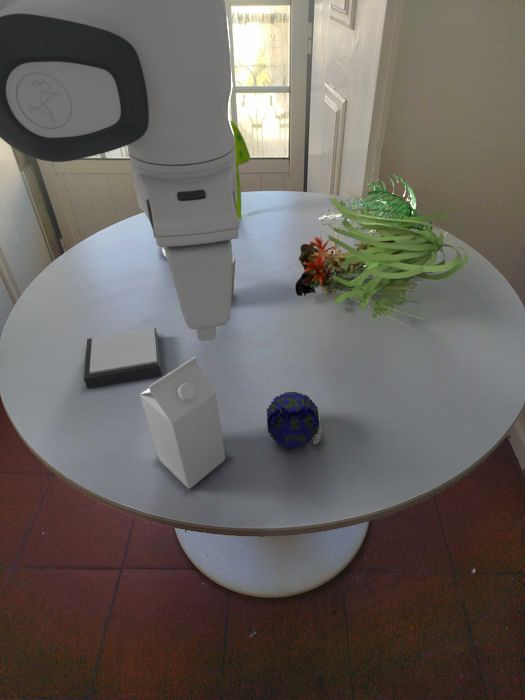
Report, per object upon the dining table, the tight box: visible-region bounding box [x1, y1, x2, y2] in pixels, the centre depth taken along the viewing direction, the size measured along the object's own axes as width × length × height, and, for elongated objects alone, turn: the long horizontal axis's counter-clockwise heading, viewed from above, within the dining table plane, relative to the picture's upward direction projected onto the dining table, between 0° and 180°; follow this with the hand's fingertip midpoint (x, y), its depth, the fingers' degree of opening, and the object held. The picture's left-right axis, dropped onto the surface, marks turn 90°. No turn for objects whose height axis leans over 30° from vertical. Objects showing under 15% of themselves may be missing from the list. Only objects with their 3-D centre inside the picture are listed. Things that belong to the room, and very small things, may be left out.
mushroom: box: [229, 120, 251, 220], centre depth 121 cm, size 8×8×25 cm
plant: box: [294, 173, 469, 332], centre depth 91 cm, size 30×30×35 cm
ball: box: [266, 391, 322, 449], centre depth 71 cm, size 8×8×8 cm
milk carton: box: [139, 356, 226, 490], centre depth 64 cm, size 7×7×19 cm
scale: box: [83, 327, 163, 389], centre depth 86 cm, size 13×11×3 cm
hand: (201, 308), depth 50 cm, fingers open, 8 cm apart
